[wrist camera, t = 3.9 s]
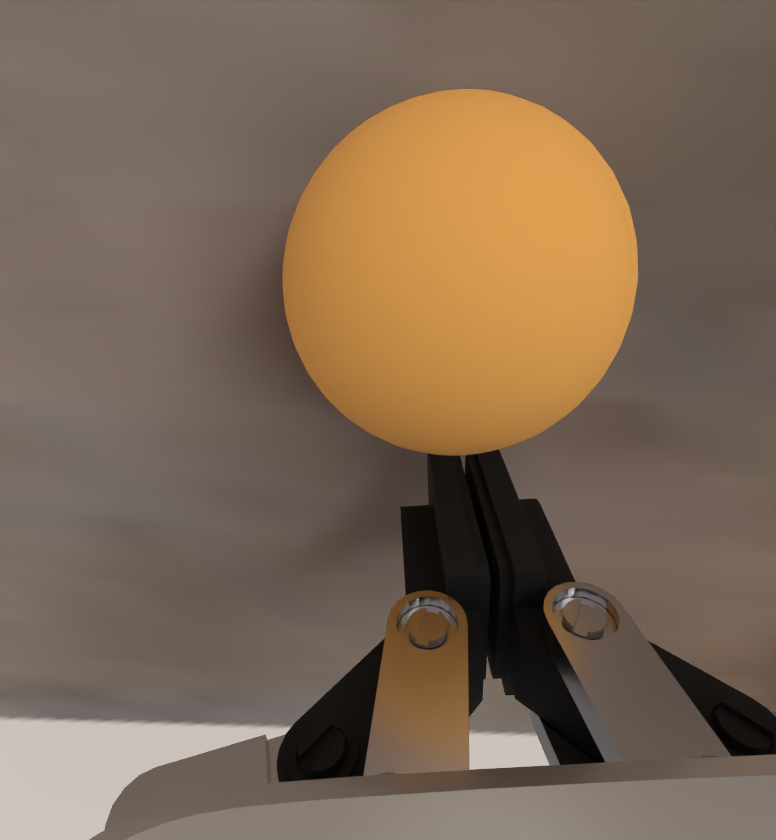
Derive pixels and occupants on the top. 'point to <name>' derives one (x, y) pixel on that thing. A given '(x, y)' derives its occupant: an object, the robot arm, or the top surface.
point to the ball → (460, 272)
